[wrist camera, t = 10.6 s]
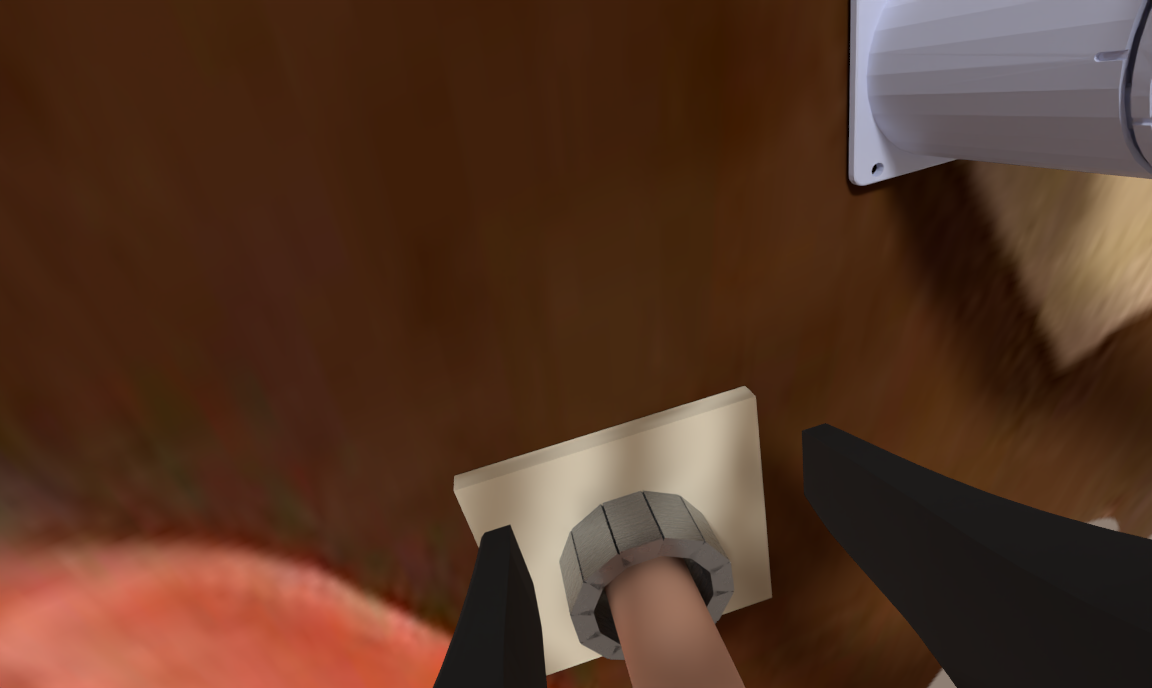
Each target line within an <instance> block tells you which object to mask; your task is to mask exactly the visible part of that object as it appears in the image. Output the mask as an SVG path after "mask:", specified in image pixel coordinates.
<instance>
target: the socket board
mask: <svg viewBox="0 0 1152 688" xmlns="http://www.w3.org/2000/svg"><path fill="white" fill-rule="evenodd" d="M454 492H455V495H456V497H457V499H458V501H459V504H460V506H461V508H462V511H463V513H464V515H465V517H466V520H467V522H468V524H469V526H470V529H471V531H472V533H473V535H474V538H475V540H476V542H477V544H478V547H479V546H480V541H481V537H482V536H483V534H484V533H485V532H488V531H491V530H494V529H497V528H500V527H504V526H507V525H511V527H512V530H513V532H514V535H515V538H516V540H517V543H518V545H519V548H520V550H521V553H522V555H523V558H524V561H525V563H526V566H527V568H528V571H529V573H530V576H531V578H532V581H533V584H534V588H535V594H536V599H537V604H538V609H539V615H540V620H541V626H542V634H543V645H544V657H545V669H546V675H549V674H552V673H555V672H558V671H561V670H564V669H566V668H569V667H572V666H575V665H578V664H581V663H584V662H587V661H590V660H593V659H595V658H598V657H601V656H604V657H605V658H607V659H609V658H610V659H620V660H625V658H624V654H623V651H622V647H621V644H620V640H619V637H618V634H617V630H616V627H615V623H614V620H613V616H612V613H611V609H610V606H609V602H608V599H607V595H606V592H605V588H604V587H605V586H606V585H607V584H609V583H610V582H611V581H612V580H613V579H615V578H616V577H617V576H618V575H619V574H621V573H622V572H623V571H624V570H625V569H627V568H628V567H630V566H633V565H636V564H639V563H642V562H645V561H648V560H651V559H654V558H657V557H660V556H668V557H681V558H683V559H684V561H685V563H686V565H687V567H688V569H689V572H690V574H691V576H692V578H693V580H694V582H695V584H696V586H697V588H698V590H699V592H700V594H701V597H702V599H703V601H704V603H705V605H706V607H707V609H708V611H709V613H710V615H711V617H712V619H713V621H714V624H716V623H717V621H719V619H720V617H721V615H723V614H726V613H729V612H732V611H735V610H737V609H740V608H743V607H746V606H749V605H752V604H755V603H758V602H761V601H764V600H766V599H769V598H772V590H771V578H770V565H769V553H768V541H767V529H766V516H765V504H764V492H763V480H762V467H761V455H760V443H759V431H758V418H757V406H756V396H755V395H754V394H753V393H752V392H751V391H750V390H749V389H748V388H747V387H746V386H743V387H740V388H736V389H733V390H730V391H727V392H724V393H720V394H717V395H714V396H711V397H707V398H704V399H701V400H698V401H695V402H691V403H688V404H685V405H682V406H678V407H675V408H672V409H669V410H666V411H662V412H659V413H656V414H653V415H649V416H646V417H643V418H640V419H637V420H633V421H630V422H627V423H624V424H621V425H617V426H614V427H611V428H608V429H604V430H601V431H598V432H595V433H592V434H588V435H585V436H582V437H579V438H575V439H572V440H569V441H566V442H563V443H559V444H556V445H553V446H550V447H546V448H543V449H540V450H537V451H534V452H530V453H527V454H524V455H521V456H518V457H514V458H511V459H508V460H505V461H501V462H498V463H495V464H492V465H489V466H485V467H482V468H479V469H476V470H472V471H469V472H466V473H463V474H460V475H456V476H454Z"/></svg>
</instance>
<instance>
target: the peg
mask: <svg viewBox="0 0 1152 688" xmlns="http://www.w3.org/2000/svg"><path fill="white" fill-rule="evenodd" d="M604 588H605V592H606V595H607V599H608V602H609V606H610V609H611V613H612V616H613V620H614V623H615V627H616V630H617V634H618V637H619V640H620V644H621V647H622V651H623V654H624V658H625V661H626V665H627V668H628V672H629V675H630V679H631V682H632V686H633V688H745V686H744V684H743V682H742V680H741V678H740V676H739V673H738V671H737V669H736V667H735V665H734V663H733V661H732V659H731V657H730V655H729V653H728V651H727V648H726V646H725V644H724V642H723V640H722V638H721V636H720V634H719V632H718V630H717V628H716V626H715V624H714V621H713V619H712V617H711V615H710V613H709V611H708V609H707V607H706V605H705V603H704V601H703V599H702V597H701V594H700V592H699V590H698V588H697V586H696V584H695V582H694V580H693V578H692V576H691V574H690V572H689V569H688V567H687V565H686V563H685V561H684V559H683V558H681V557H668V556H660V557H657V558H654V559H651V560H648V561H645V562H642V563H639V564H636V565H633V566H630V567H628V568H627V569H625V570H624V571H623V572H622V573H621V574H619V575H618V576H617V577H616V578H615V579H613V580H612V581H611V582H610V583H609V584H607V585H606V586H605V587H604Z"/></svg>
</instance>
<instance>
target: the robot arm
mask: <svg viewBox="0 0 1152 688" xmlns="http://www.w3.org/2000/svg"><path fill="white" fill-rule="evenodd" d="M956 159H964V160H974V161H983V162H993V163H1003V164H1012V165H1022V166H1031V167H1041V168H1051V169H1060V170H1070V171H1079V172H1089V173H1099V174H1108V175H1118V176H1128V177H1137V178H1147V179H1152V0H851V33H850V110H849V180H850V181H851V183H853V184H855V185H859V186H865V185H869V184H872V183H876V182H879V181H883V180H886V179H890V178H893V177H897V176H900V175H904V174H907V173H911V172H914V171H918V170H921V169H925V168H928V167H932V166H935V165H939V164H942V163H946V162H949V161H953V160H956ZM875 164H876V165H877V168H876V171H875V172H874V174H872V168H873V166H874V165H875ZM802 447H803V476H804V495H805V497H806V498H807V500H808V501H809V503H810V504H811V506H812V507H813V509H814V510H815V512H816V513H817V515H818V516H819V518H820V519H821V520H822V522H823V523H824V525H825V526H826V527H827V529H828V530H829V532H830V533H831V534H832V535H833V536H834V538H835V539H836V540H837V541H838V542H839V543H840V545H841V546H842V547H843V548H844V549H845V550H846V552H847V553H848V554H849V555H850V556H851V557H852V558H853V560H854V561H855V562H856V563H857V564H858V565H859V566H860V568H861V569H862V570H863V571H864V572H865V573H866V574H867V575H868V577H869V578H870V579H871V580H872V581H873V582H874V583H875V585H876V586H877V587H878V588H879V589H880V590H881V591H882V592H883V594H884V595H885V596H886V597H887V598H888V599H889V600H890V602H891V603H892V604H893V605H894V606H895V607H896V608H897V610H898V611H899V612H900V613H901V614H902V615H903V617H904V618H905V619H906V620H907V621H908V623H909V624H910V625H911V626H912V628H913V629H914V630H915V631H916V632H917V634H918V635H919V636H920V638H921V639H922V640H923V642H924V643H925V645H926V646H927V647H928V649H929V650H930V651H931V653H932V654H933V655H934V657H935V658H936V659H937V661H938V662H939V664H940V665H941V666H942V668H943V669H944V670H945V672H946V673H947V674H948V675H949V677H950V679H951V680H952V681H953V683H954V684H955V686H956V687H957V688H1152V540H1151V539H1147V538H1143V537H1139V536H1134V535H1130V534H1126V533H1122V532H1118V531H1114V530H1110V529H1106V528H1102V527H1098V526H1095V525H1091V524H1087V523H1084V522H1080V521H1076V520H1072V519H1069V518H1065V517H1062V516H1058V515H1055V514H1052V513H1048V512H1045V511H1042V510H1038V509H1035V508H1032V507H1029V506H1026V505H1023V504H1020V503H1017V502H1014V501H1011V500H1008V499H1005V498H1002V497H999V496H996V495H993V494H990V493H988V492H985V491H982V490H979V489H977V488H974V487H972V486H969V485H966V484H964V483H961V482H959V481H956V480H954V479H951V478H948V477H946V476H943V475H941V474H939V473H936V472H934V471H931V470H929V469H927V468H924V467H922V466H920V465H917V464H915V463H913V462H910V461H908V460H906V459H904V458H901V457H899V456H897V455H895V454H892V453H890V452H888V451H886V450H884V449H881V448H879V447H877V446H875V445H873V444H870V443H868V442H866V441H864V440H862V439H860V438H857V437H855V436H853V435H851V434H849V433H847V432H844V431H842V430H840V429H838V428H835V427H833V426H831V425H828V424H826V423H825V424H822V425H819V426H816V427H812V428H809V429H806V430H803V431H802ZM433 688H547V681H546V669H545V657H544V645H543V634H542V626H541V620H540V615H539V609H538V604H537V599H536V594H535V588H534V584H533V581H532V578H531V576H530V573H529V571H528V568H527V566H526V563H525V561H524V558H523V555H522V553H521V550H520V548H519V545H518V543H517V540H516V538H515V535H514V532H513V530H512V527H511V525H507V526H504V527H500V528H497V529H494V530H491V531H488V532H485V533H484V534H483V536H482V537H481V541H480V546H479V551H478V555H477V559H476V563H475V567H474V571H473V575H472V578H471V582H470V585H469V589H468V592H467V595H466V599H465V602H464V605H463V608H462V611H461V614H460V618H459V621H458V624H457V627H456V629H455V632H454V635H453V638H452V640H451V643H450V646H449V648H448V651H447V654H446V656H445V659H444V662H443V664H442V667H441V669H440V672H439V674H438V677H437V679H436V681H435V684H434V686H433Z"/></svg>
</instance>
